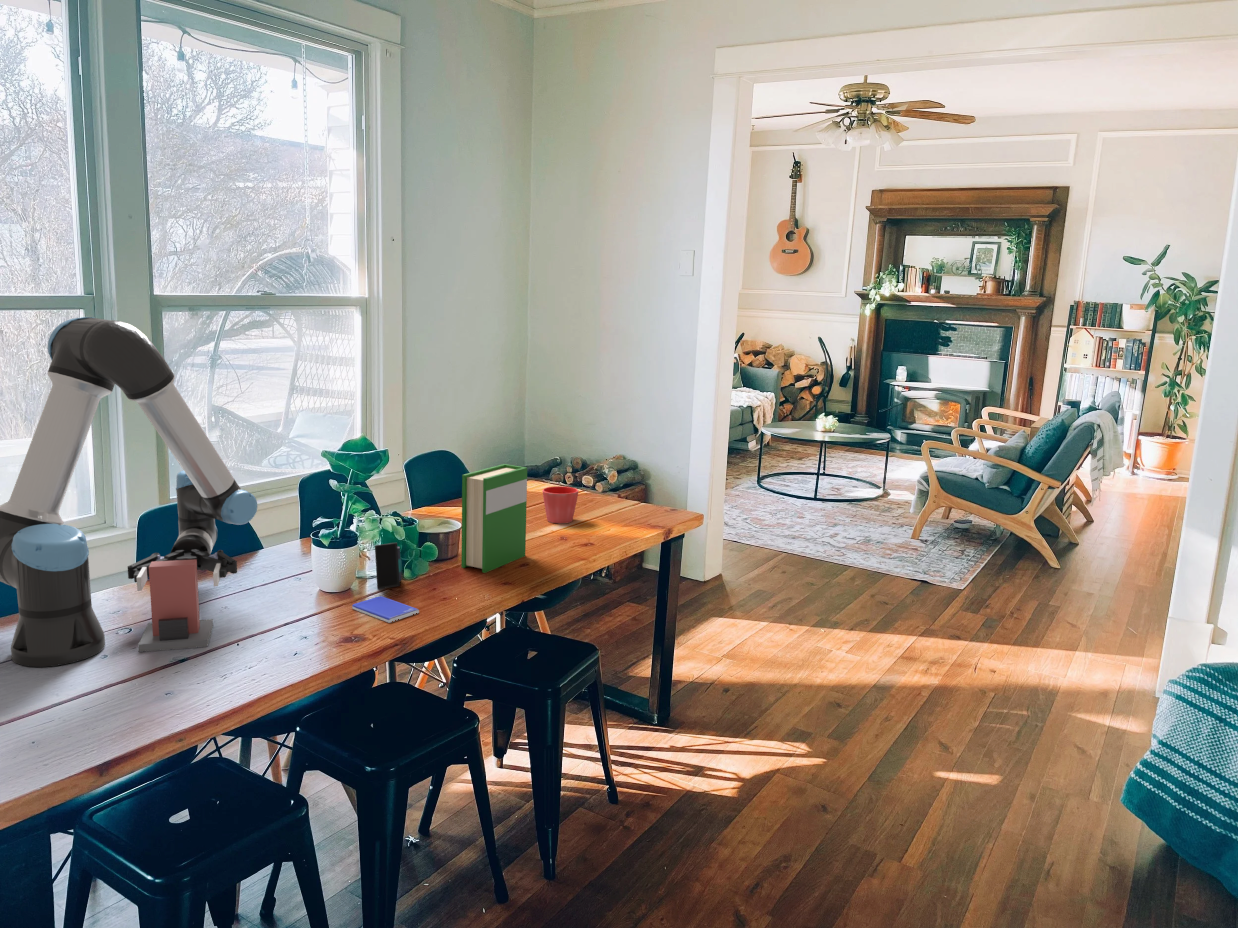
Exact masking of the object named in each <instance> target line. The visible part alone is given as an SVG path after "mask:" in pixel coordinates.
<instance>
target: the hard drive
mask: <svg viewBox="0 0 1238 928" xmlns="http://www.w3.org/2000/svg"><path fill="white" fill-rule="evenodd" d="M351 609H352V610H354V611H357V612H360V613H362V614H365V615H368V616H371V617H373V618H375V619H377V620H381V621H384V622H386V623H389V624H390V623H393V622H396V621H399V620H402V619H404V618H407V617H411V616H413V614H414V615H417V614H419V613H420V610H419V609H418V608H417V607H413V606H410V605H408V604H405V603H402V602H399V601H396V600H394V599H390V598H388V597H385V596H382V595H380V596H375V597H373V598H369V599H366V600H361V601H359V602H355V603H353V604H352V605H351ZM416 613H417V614H416ZM398 619H399V620H398ZM395 620H396V621H395ZM392 621H393V622H392Z"/></svg>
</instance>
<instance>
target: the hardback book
mask: <svg viewBox="0 0 1238 928" xmlns="http://www.w3.org/2000/svg"><path fill="white" fill-rule="evenodd" d="M461 480H462V481H461V483H462V484H461V560H460V561H461V569H465V568H466V569H467V568H468V567H472V568H473V567H474V568H477V569H481V573H484V574H486V573H488V572H491V571H493V570H495V569H497V568H498V569H499V568H500V567H504V566H506V565H508V564H510V563H511V562H514V561H517V560H519V559H522V558H525V557H526V547H527V546H526V543H527V542H526V541H527V539H526V538H527V537H526V535H527V503H528V502H527V501H528V500H527V498H528V493H527V492H528V467H526V466H521V465H513V464H506V463H502V464H499V465H498V464H497V465H495V466H492V467H487V468H482V469H480V470H476V471H471V472H469V473H468V472H467V473H465V474H461Z"/></svg>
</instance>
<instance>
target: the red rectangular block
mask: <svg viewBox="0 0 1238 928" xmlns="http://www.w3.org/2000/svg"><path fill="white" fill-rule="evenodd" d="M198 577H199V576H198V570H197V559H195V560H175V561H155V562H151V564H150V566H149V577H148V580H149V592H150V593H149V595H150V596H149V597H150V609H151V610H150V611H151V623H152V629H153V636H159V623H158V621H159V619H167V618H182V617H188V629H189V634H190V633H198V631H199V628H200V620H201V619H200V601H199V598H200V597H199V582H198V581H199V580H198Z"/></svg>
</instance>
